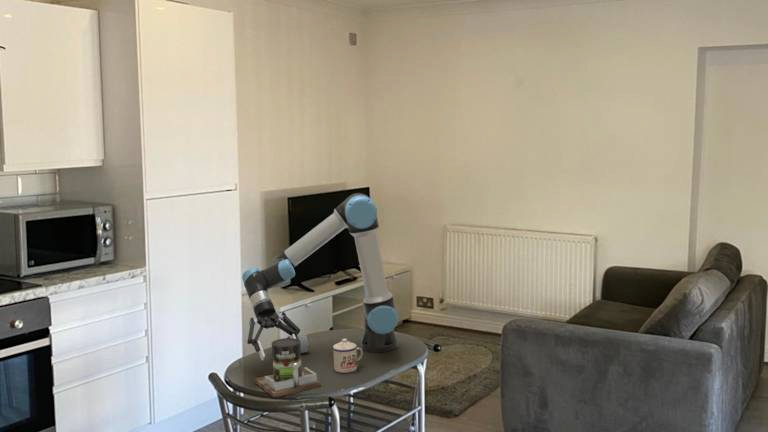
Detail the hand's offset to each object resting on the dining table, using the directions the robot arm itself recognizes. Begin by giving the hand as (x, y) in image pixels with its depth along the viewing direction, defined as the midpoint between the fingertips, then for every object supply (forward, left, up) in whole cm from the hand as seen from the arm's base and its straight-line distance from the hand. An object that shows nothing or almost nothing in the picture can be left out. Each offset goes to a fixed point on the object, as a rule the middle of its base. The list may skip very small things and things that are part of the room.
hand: (281, 354), depth 277 cm
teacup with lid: (-21, -17, -10) cm, 28 cm away
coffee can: (-3, +2, -9) cm, 10 cm away
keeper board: (-3, +2, -10) cm, 11 cm away
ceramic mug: (+5, -33, -10) cm, 35 cm away
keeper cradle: (-5, +6, -9) cm, 12 cm away
